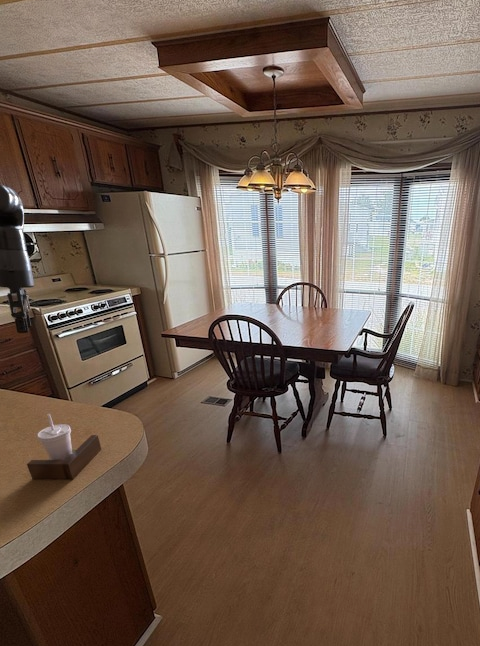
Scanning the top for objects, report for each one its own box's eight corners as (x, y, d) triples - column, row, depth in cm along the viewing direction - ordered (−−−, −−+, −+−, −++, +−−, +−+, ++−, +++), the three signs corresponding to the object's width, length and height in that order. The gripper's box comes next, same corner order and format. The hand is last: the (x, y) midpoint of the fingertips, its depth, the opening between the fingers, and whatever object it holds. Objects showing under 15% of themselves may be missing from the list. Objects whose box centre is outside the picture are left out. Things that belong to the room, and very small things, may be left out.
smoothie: (76, 453, 89) (62, 405, 84) (82, 464, 85) (68, 415, 79) (46, 463, 85) (29, 414, 79) (50, 476, 81) (33, 425, 75)
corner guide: (27, 479, 80) (21, 464, 78) (62, 449, 91) (57, 434, 89) (73, 479, 80) (68, 464, 79) (101, 449, 91) (97, 434, 90)
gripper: (-3, 266, 91) (9, 326, 96) (-13, 268, 80) (2, 335, 85) (33, 268, 96) (43, 325, 100) (29, 269, 85) (40, 333, 89)
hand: (24, 330), depth 93 cm, fingers open, 8 cm apart
